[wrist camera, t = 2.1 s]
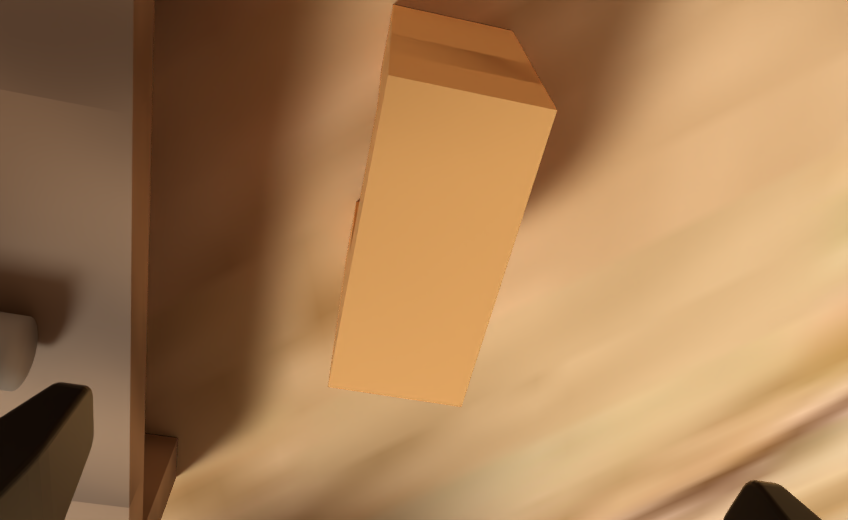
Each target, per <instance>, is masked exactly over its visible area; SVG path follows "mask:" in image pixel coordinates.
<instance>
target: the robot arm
mask: <svg viewBox="0 0 848 520" xmlns="http://www.w3.org/2000/svg"><path fill="white" fill-rule="evenodd" d="M93 437H94V416H93V393H92V390H91V388H89V387H88V386H86V385H79V384H72V383H65V382H57V383H54V384H52V385H50V386H49V387H47V388H46V389H44V390H42V391H41V392H39V393H38V394H36V395H35V396H33V397H32V398H30V399H28V400H27V401H25V402H24V403H22V404H21V405H19V406H17V407H16V408H14V409H13V410H11V411H10V412H8V413H7V414H5V415H3V416H2V417H0V520H65V517H66V515H67V512H68V509H69V507H70V504H71V501H72V499H73V496H74V493H75V491H76V488H77V485H78V483H79V480H80V477H81V475H82V472H83V470H84V467H85V464H86V462H87V459H88V456H89V453H90V451H91V447H92V443H93ZM724 520H821V519H820V518H819V517H818V516H817V515H815V514H814V513H813V512H812V511H811V510H810V509H808V508H807V507H806V506H805V505H804V504H803V503H801V502H800V501H799V500H798V499H797V498H796V497H794V496H793V495H792V494H791V493H790V492H788V491H787V490H786V489H785V488H784V487H782V486H781V485H779V484H776V483H771V482H764V481H757V480H752V481H749V482H748V483H746V484H745V485H744V486H743V488H742V490H741V491H740V493H739V494H738V496H737V497H736V499H735V501H734V502H733V504H732V505H731V507H730V508H729V510H728V512H727V513H726V515H725V517H724Z"/></svg>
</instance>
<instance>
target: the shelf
mask: <svg viewBox="0 0 848 520" xmlns="http://www.w3.org/2000/svg"><path fill="white" fill-rule="evenodd" d="M153 44H154V0H0V417H2V416H3V415H5V414H7V413H8V412H10V411H11V410H13V409H14V408H16V407H17V406H19V405H21V404H22V403H24V402H25V401H27V400H28V399H30V398H32V397H33V396H35V395H36V394H38V393H39V392H41V391H42V390H44V389H46V388H47V387H49V386H50V385H52V384H54V383H57V382H65V383H72V384H79V385H86V386H88V387H89V388H91V390H92V393H93V416H94V437H93V443H92V447H91V451H90V453H89V456H88V459H87V462H86V464H85V467H84V470H83V472H82V475H81V477H80V480H79V483H78V485H77V488H76V491H75V493H74V496H73V499H72V501H71V504H70V507H69V509H68V512H67V515H66V517H65V520H161V518H162V515H163V512H164V509H165V507H166V504H167V501H168V498H169V496H170V493H171V490H172V487H173V484H174V482H175V479H176V464H177V446H178V438H173V437H166V436H159V435H151V434H145V394H146V351H147V307H148V263H149V219H150V175H151V131H152V87H153Z"/></svg>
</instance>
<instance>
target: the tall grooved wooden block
mask: <svg viewBox="0 0 848 520" xmlns="http://www.w3.org/2000/svg"><path fill="white" fill-rule="evenodd" d="M556 112H557V109H556V107H555V106H554V104H553V102H552V100H551V99H550V97H549V95H548V93H547V91H546V90H545V88H544V86H543V84H542V83H541V81H540V79H539V77H538V75H537V74H536V72H535V70H534V68H533V67H532V65H531V63H530V61H529V59H528V58H527V56H526V54H525V52H524V51H523V49H522V47H521V45H520V43H519V42H518V40H517V38H516V36H515V35H514V33H513V31H511V30H506V29H502V28H497V27H493V26H488V25H484V24H479V23H475V22H470V21H466V20H461V19H457V18H452V17H448V16H443V15H439V14H434V13H430V12H425V11H421V10H416V9H412V8H407V7H403V6H398V5H394V4H393V9H392V15H391V20H390V25H389V31H388V36H387V41H386V47H385V52H384V58H383V63H382V68H381V77H380V86H379V96H378V105H377V111H376V117H375V122H374V127H373V132H372V138H371V143H370V148H369V153H368V159H367V164H366V169H365V175H364V180H363V185H362V190H361V196H360V201H359V202H356V207H355V212H354V218H353V223H352V229H351V234H350V239H349V245H348V250H347V257H346V264H345V271H344V278H343V285H342V292H341V299H340V306H339V313H338V320H337V327H336V334H335V341H334V348H333V355H332V362H331V369H330V376H329V383H328V387H332V388H339V389H345V390H352V391H359V392H365V393H372V394H379V395H385V396H392V397H399V398H405V399H412V400H419V401H425V402H432V403H439V404H445V405H452V406H459V407H461V406H462V403H463V400H464V397H465V394H466V391H467V388H468V385H469V382H470V378H471V375H472V372H473V369H474V366H475V363H476V360H477V357H478V354H479V351H480V347H481V344H482V341H483V338H484V335H485V332H486V329H487V326H488V323H489V320H490V317H491V313H492V310H493V307H494V304H495V301H496V298H497V295H498V292H499V289H500V286H501V283H502V279H503V276H504V273H505V270H506V267H507V264H508V261H509V258H510V255H511V252H512V248H513V245H514V242H515V239H516V236H517V233H518V230H519V227H520V224H521V221H522V218H523V214H524V211H525V208H526V205H527V202H528V199H529V196H530V193H531V190H532V187H533V183H534V180H535V177H536V174H537V171H538V168H539V165H540V162H541V159H542V156H543V153H544V149H545V146H546V143H547V140H548V137H549V134H550V131H551V128H552V125H553V122H554V119H555V115H556Z"/></svg>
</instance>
